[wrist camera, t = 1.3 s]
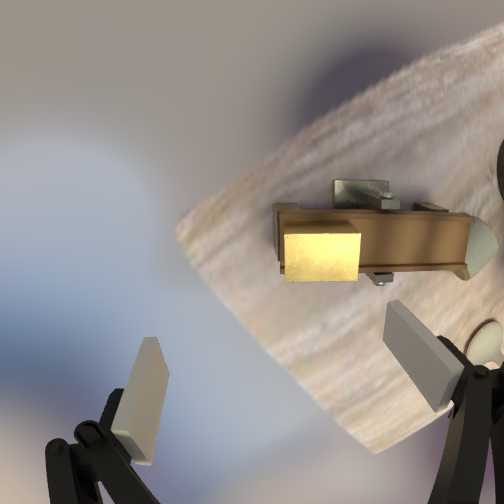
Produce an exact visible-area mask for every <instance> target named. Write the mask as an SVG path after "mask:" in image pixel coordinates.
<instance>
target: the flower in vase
mask: <svg viewBox="0 0 504 504" xmlns="http://www.w3.org/2000/svg"><path fill="white" fill-rule="evenodd" d="M502 338H503V329H502V326H501V324H500V323H499V322H490V323H488V324H486V325H485V326H483V327H482V328H481V329H480V330H479V331H478V332H477V333H476V335H475V336H474V337H473V339H472V341H471V342H470V344H469V347H468V349H467V353H466V357H467V359H468V360H469V361H470V362H471V363H472V364H473V365H482V364H485V363H487V362H490V361H493V362H495V363H496V364H497V365H498V366H499V367H501V365H502V362H503V361H504V355H503V354H502V353H501V344H502Z"/></svg>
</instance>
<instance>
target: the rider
mask: <svg viewBox="0 0 504 504" xmlns="http://www.w3.org/2000/svg"><path fill="white" fill-rule="evenodd" d="M284 237H285V281H351V280H357V277H358V266H359V254H360V240H361V233H360V232H359V231H358V230H357V229H356V228H355V227H354V226H353V225H352V224H351V223H350V222H349V221H292V222H284Z"/></svg>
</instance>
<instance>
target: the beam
mask: <svg viewBox="0 0 504 504" xmlns="http://www.w3.org/2000/svg"><path fill="white" fill-rule="evenodd" d="M474 220H475V218H474V217H472V216H470V215H467V214H465V213H449V212H428V211H401V210H357V209H282V210H279V222H280V274H285V237H284V222H292V221H349V222H350V223H351V224H352V225H353V226H354V227H355V228H356V229H357V230H358V231H359V232H360V233H361V240H360V254H359V266H358V273H372V272H408V271H436V270H460V269H467V266H468V265H467V264H466V263H465V258H466V252H467V246H468V239H469V232H470V224H471V222H473V223H474Z"/></svg>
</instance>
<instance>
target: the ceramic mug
mask: <svg viewBox="0 0 504 504" xmlns="http://www.w3.org/2000/svg"><path fill="white" fill-rule="evenodd" d="M472 217H474V218H475V220H474V223H473V222H471V224H470V232H469V239H468V246H467V252H466V258H465V263H466V264H467V265H468V266H467V269H460V270H452V271H453V272H454V273H455V274H456V275H457V276H458V277H459V278H460V279H462V280H465V281H467V280H469V279H471V278H472V277H474V276H475V275H476V274H477V273H478V272H479V271H480V270H481V269H482V268H483V267H484V266H485V265H486V264H487V263H488V262H489V261H490V260H491V259H492V258H493V257H494V256H495V255H496V254H497V253H498V251H499V244H498V241H497V238H496V236H495V234H494V233H493V231H492V230H491V228H490V227H489V226H488V225H487V224H486V223H485V222H484V221H482V220H481V219H479V218H478V217H475V216H472Z"/></svg>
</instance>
